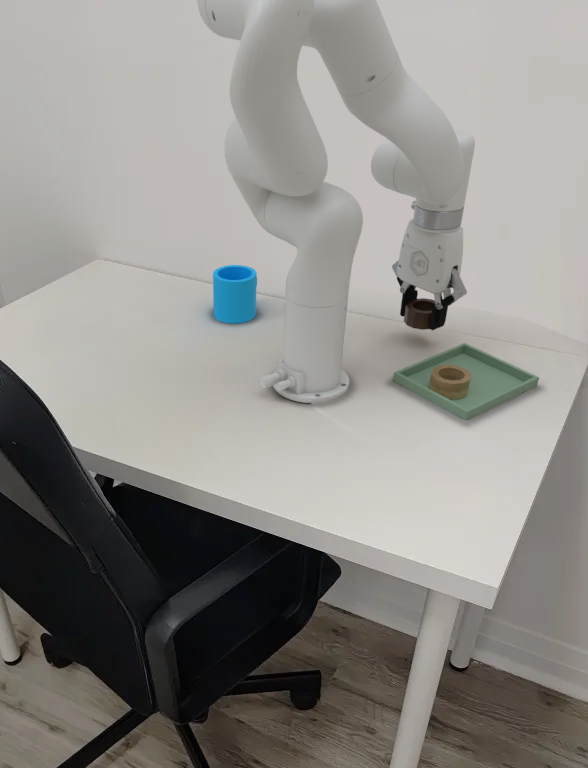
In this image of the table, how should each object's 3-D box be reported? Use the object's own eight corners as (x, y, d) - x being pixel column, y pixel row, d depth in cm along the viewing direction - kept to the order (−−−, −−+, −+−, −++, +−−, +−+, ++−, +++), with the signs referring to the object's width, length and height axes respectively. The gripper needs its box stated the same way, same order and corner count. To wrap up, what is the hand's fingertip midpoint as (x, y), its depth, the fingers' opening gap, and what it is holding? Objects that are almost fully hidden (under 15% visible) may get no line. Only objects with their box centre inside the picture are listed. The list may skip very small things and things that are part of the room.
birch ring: (449, 403, 120) (453, 387, 119) (421, 388, 124) (423, 372, 122) (475, 392, 123) (479, 375, 121) (446, 377, 127) (449, 361, 125)
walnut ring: (422, 332, 131) (425, 316, 129) (396, 320, 135) (399, 304, 133) (446, 322, 134) (449, 306, 132) (420, 311, 138) (423, 295, 136)
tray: (465, 423, 117) (467, 411, 116) (392, 383, 127) (393, 372, 126) (536, 388, 125) (539, 377, 123) (462, 353, 134) (464, 342, 133)
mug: (242, 327, 144) (242, 285, 139) (205, 317, 148) (204, 276, 143) (273, 303, 152) (274, 263, 147) (237, 295, 156) (237, 255, 151)
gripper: (381, 207, 127) (370, 310, 138) (464, 236, 116) (445, 345, 127) (413, 198, 130) (400, 298, 141) (497, 225, 119) (475, 332, 130)
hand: (421, 319), depth 134 cm, fingers closed on walnut ring, 6 cm apart
